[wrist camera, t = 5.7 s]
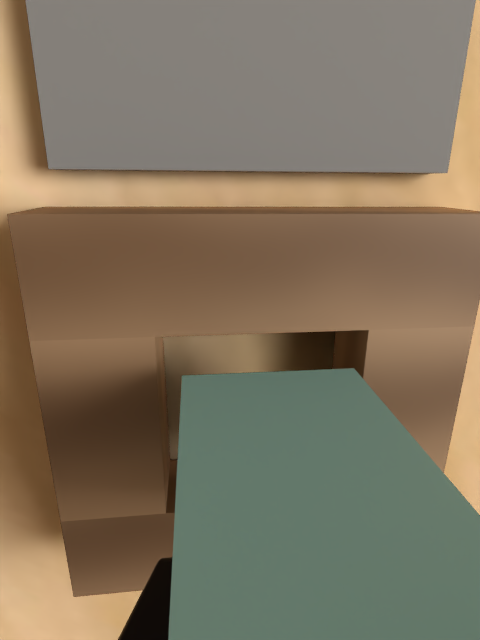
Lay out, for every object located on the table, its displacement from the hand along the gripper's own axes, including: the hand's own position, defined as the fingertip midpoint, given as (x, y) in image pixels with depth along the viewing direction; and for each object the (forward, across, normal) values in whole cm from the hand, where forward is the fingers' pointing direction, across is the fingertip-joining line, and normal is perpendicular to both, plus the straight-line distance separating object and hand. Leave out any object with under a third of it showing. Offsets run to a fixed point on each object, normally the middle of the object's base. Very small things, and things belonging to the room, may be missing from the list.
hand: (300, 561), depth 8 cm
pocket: (+7, 0, 0) cm, 7 cm away
